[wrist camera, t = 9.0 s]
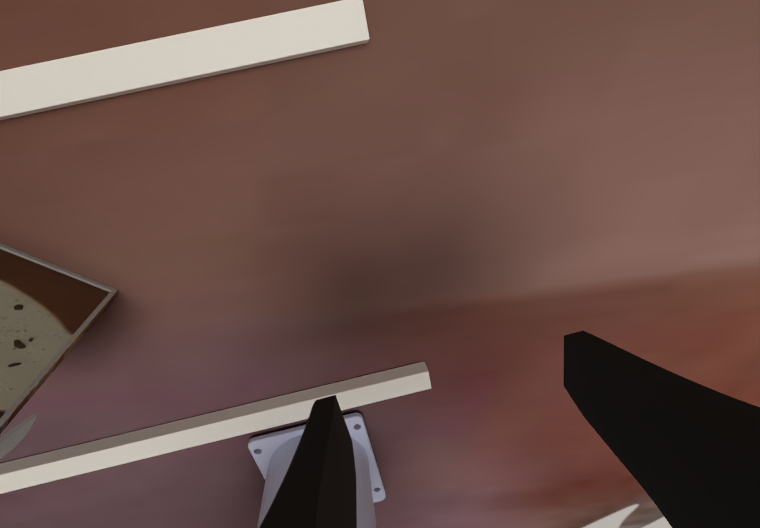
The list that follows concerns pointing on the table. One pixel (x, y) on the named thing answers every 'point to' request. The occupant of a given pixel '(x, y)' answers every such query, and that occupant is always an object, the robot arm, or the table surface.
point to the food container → (38, 328)
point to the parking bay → (156, 69)
